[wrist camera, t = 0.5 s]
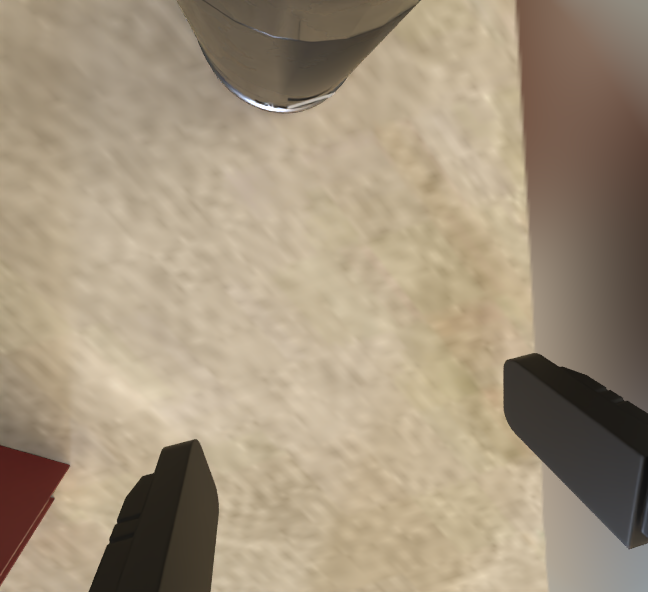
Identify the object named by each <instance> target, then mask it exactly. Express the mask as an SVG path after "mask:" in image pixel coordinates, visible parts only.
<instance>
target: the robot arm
mask: <svg viewBox="0 0 648 592" xmlns="http://www.w3.org/2000/svg"><path fill="white" fill-rule="evenodd" d="M176 1H177V2H178V4H179V6H180V8H181V10H182V12H183V13H184V15H185V17H186V19H187V21H188V22H189V24H190V26H191V28H192V30H193V31H194V33H195V36H196V37H197V39H198V42H199V45H200V47H201V49H202V52H203V54H204V56H205V58H206V59H207V61H208V63H209V65H210V66H211V68H212V70H213V71H214V73H215V74H216V75H217V77H218V78H219V79H220V81H221V82H222V83H223V84H224V85H225V86H226V87H227V88H228V89H229V90H230V91H231V92H232V93H233V94H235V95H236V96H237V97H239V98H240V99H242V100H243V101H245V102H246V103H248V104H250V105H252V106H254V107H257V108H259V109H262V110H266V111H269V112H275V113H294V112H300V111H304V110H307V109H310V108H312V107H314V106H316V105H318V104H320V103H322V102H323V101H324V100H326V99H327V98H329V97H331V96H332V95H333V94H334V92H335V91H336V90H337V89H338V88H339V87H340V86H341V85H342V84H343V82H344V81H345V80H346V78H347V77H348V76H349V75H350V74H351V73H352V71H353V70H354V69H355V68H356V67H357V66H358V65H359V64H360V63H361V62H362V61H363V60H364V59H365V58H366V57H367V56H368V55H369V54H370V53H371V52H372V51H373V50H374V48H375V47H376V46H377V45H378V44H379V43H380V42H381V41H382V40H383V39H384V38H385V37H386V36H387V35H388V34H389V33H390V32H391V31H392V30H393V29H394V28H395V27H396V26H397V24H398V23H399V22H400V21H401V20H402V19H403V18H404V17H405V16H406V15H407V14H408V13H409V12H410V11H411V10H412V9H413V8H414V7H415V6H416V5H417V4H418V3H419V1H420V0H176ZM504 413H505V417H506V420H507V422H508V424H509V426H510V427H511V429H512V430H513V431H514V433H515V434H516V435H517V436H518V437H519V438H520V439H521V440H522V441H523V442H524V443H525V444H526V445H527V446H528V447H529V448H530V449H531V450H532V451H533V452H534V453H535V454H536V455H537V456H538V457H539V458H540V459H541V460H542V461H543V462H544V463H545V464H546V465H547V466H548V467H549V468H550V469H551V470H552V471H553V472H554V473H555V474H556V475H557V476H558V478H559V479H561V481H562V482H563V483H565V485H566V486H567V487H568V488H569V489H570V490H571V491H572V492H573V493H574V494H575V495H576V496H577V497H578V498H579V499H580V500H581V501H582V502H583V503H584V504H585V505H586V506H587V507H588V508H589V509H590V510H591V511H592V512H593V513H594V514H595V515H596V516H597V517H598V518H599V519H600V520H601V521H602V522H603V523H604V524H605V525H606V526H607V527H608V529H609V530H610V531H611V532H612V533H613V534H614V535H615V536H616V537H617V538H618V539H619V540H621V542H622V543H623V544H624V545H625V546H626V547H627V548H628V549H632V548H635V547H638V546H641V545H644V544H647V543H648V413H646V412H645V411H643V410H641V409H640V408H638V407H637V406H635V405H633V404H632V403H630V402H629V401H624V400H623V398H622V397H621V396H619V395H617V394H616V393H614V392H613V391H611V390H607V389H606V387H605V386H603V385H601V384H600V383H598V382H597V381H595V380H593V379H592V378H590V377H589V376H587V375H585V374H582V373H579V372H576V371H573V370H570V369H567V368H565V367H559V366H557V365H556V364H554V363H552V362H551V361H549V360H548V359H546V358H544V357H543V356H542V355H540V354H537V353H532V354H528V355H525V356H521V357H517V358H513V359H509V360H507V361H506V362H505V364H504ZM218 515H219V503H218V494H217V489H216V486H215V483H214V480H213V477H212V475H211V472H210V469H209V466H208V464H207V461H206V458H205V456H204V453H203V450H202V447H201V445H200V443H199V441H198V440H197V439H194V440H191V441H187V442H183V443H179V444H175V445H171V446H167V447H164V448H163V449H162V451H161V454H160V457H159V460H158V463H157V466H156V469H155V472H154V473H153V474H149V475H145V476H142V477H141V479H140V480H139V481H138V483H137V484H136V485H135V486H134V488H133V489H132V490H131V491H130V493H129V494H128V495H127V497H126V498H125V501H124V503H123V506H122V508H121V511H120V514H119V516H118V519H117V524H116V525H115V526H114V529H113V531H112V534H111V536H110V539H109V540H110V543H109V544H108V545H107V547H106V549H105V552H104V554H103V557H102V559H101V562H100V564H99V567H98V569H97V572H96V575H95V577H94V580H93V582H92V585H91V587H90V590H89V592H210V591H211V582H212V572H213V563H214V553H215V544H216V534H217V525H218Z"/></svg>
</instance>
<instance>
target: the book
mask: <svg viewBox="0 0 648 592" xmlns="http://www.w3.org/2000/svg"><path fill="white" fill-rule="evenodd" d="M69 467H70V465H68V464H64V463H61V462H57V461H54V460H50V459H46V458H43V457H39V456H36V455H32V454H29V453H25V452H22V451H18V450H15V449H11V448H7V447H4V446H0V586H1V584H2V583H3V581H4V580H5V578H6V576H7V575H8V573H9V572H10V570H11V568H12V567H13V565H14V564H15V562H16V560H17V559H18V557H19V556H20V554H21V552H22V551H23V549H24V548H25V546H26V544H27V543H28V541H29V539H30V538H31V536H32V535H33V533H34V531H35V530H36V528H37V527H38V525H39V523H40V522H41V520H42V519H43V517H44V515H45V514H46V512H47V511H48V509H49V507H50V506H51V504H52V503H53V501H54V498H52V497H51V495H52V494H53V492H54V491H55V489H56V488H57V486H58V484H59V483H60V481H61V480H62V478H63V477H64V475H65V473H66V472H67V470H68V469H69Z"/></svg>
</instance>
